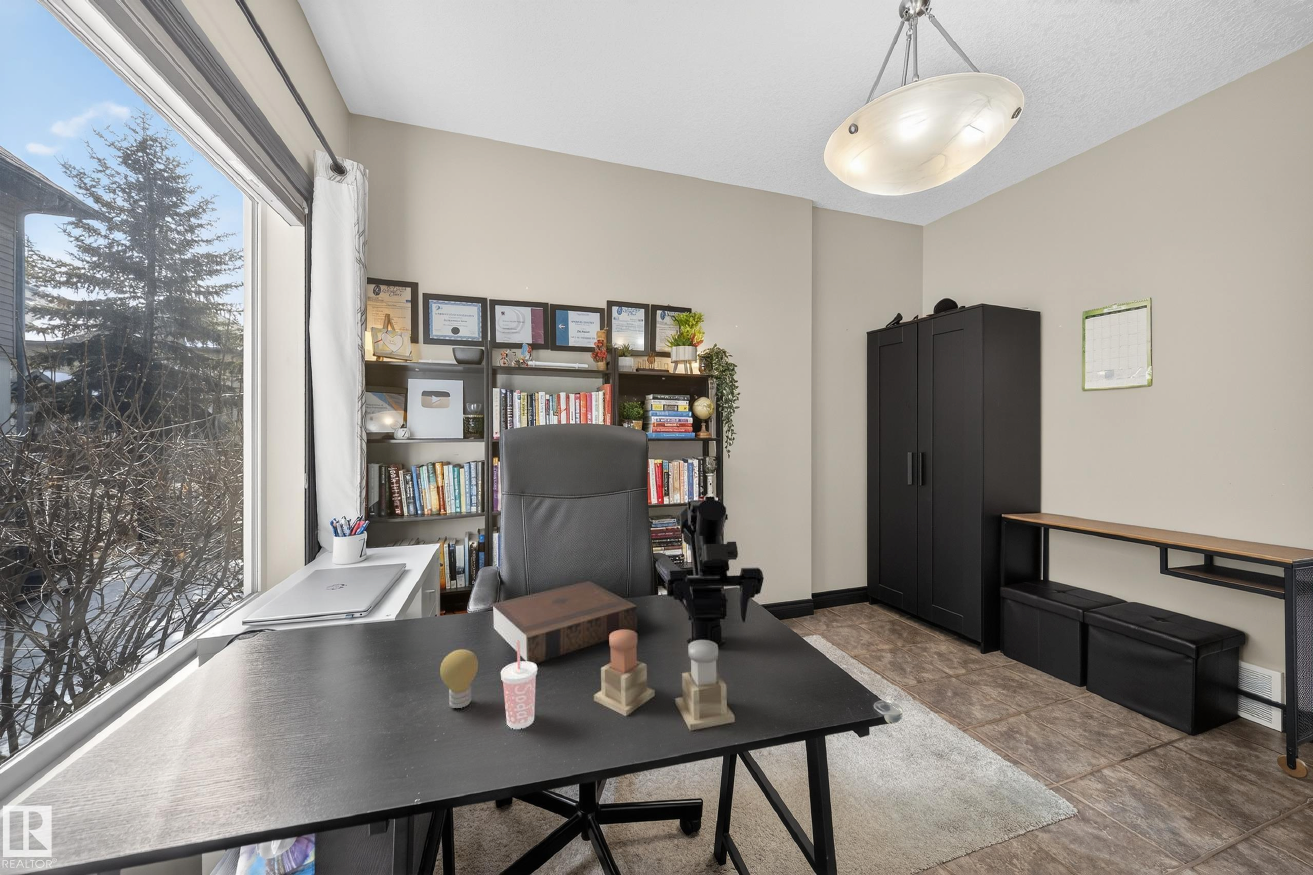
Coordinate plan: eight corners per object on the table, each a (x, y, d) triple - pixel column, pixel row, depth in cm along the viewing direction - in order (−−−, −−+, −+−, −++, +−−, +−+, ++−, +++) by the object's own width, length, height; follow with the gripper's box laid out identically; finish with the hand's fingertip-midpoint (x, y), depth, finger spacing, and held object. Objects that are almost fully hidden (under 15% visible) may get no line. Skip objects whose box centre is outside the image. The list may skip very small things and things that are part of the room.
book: (637, 631, 119) (636, 605, 119) (528, 667, 103) (528, 637, 103) (589, 603, 139) (588, 580, 139) (491, 629, 122) (491, 604, 122)
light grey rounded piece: (684, 676, 87) (684, 642, 86) (711, 672, 88) (711, 638, 88) (694, 692, 82) (694, 655, 81) (723, 687, 83) (722, 651, 83)
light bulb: (486, 698, 91) (484, 646, 90) (462, 718, 84) (460, 662, 84) (458, 692, 93) (457, 641, 92) (433, 711, 87) (431, 657, 86)
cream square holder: (623, 681, 96) (622, 651, 95) (654, 695, 91) (654, 664, 90) (593, 700, 89) (593, 668, 89) (626, 716, 84) (625, 682, 84)
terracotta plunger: (623, 659, 93) (622, 627, 93) (643, 667, 90) (642, 634, 90) (604, 670, 89) (603, 636, 89) (624, 679, 86) (624, 644, 86)
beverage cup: (499, 734, 80) (496, 651, 80) (504, 712, 86) (502, 635, 86) (537, 729, 81) (534, 647, 81) (540, 708, 87) (538, 632, 87)
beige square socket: (675, 703, 88) (675, 671, 88) (716, 696, 90) (716, 664, 90) (690, 730, 80) (689, 695, 80) (734, 721, 82) (734, 687, 82)
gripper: (665, 528, 96) (669, 598, 84) (759, 526, 96) (776, 596, 84) (665, 562, 103) (668, 631, 91) (752, 560, 103) (767, 629, 91)
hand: (719, 621), depth 89 cm, fingers open, 9 cm apart
